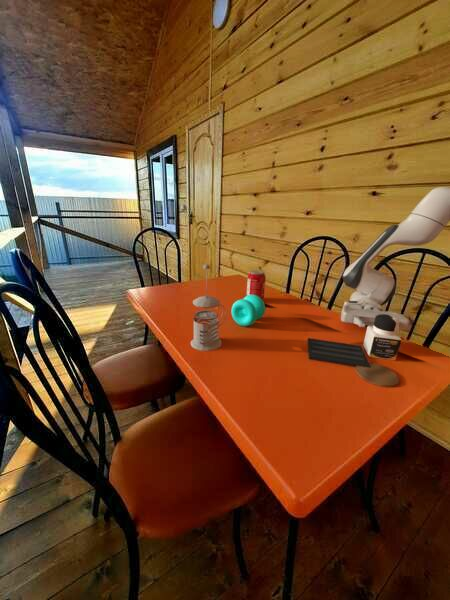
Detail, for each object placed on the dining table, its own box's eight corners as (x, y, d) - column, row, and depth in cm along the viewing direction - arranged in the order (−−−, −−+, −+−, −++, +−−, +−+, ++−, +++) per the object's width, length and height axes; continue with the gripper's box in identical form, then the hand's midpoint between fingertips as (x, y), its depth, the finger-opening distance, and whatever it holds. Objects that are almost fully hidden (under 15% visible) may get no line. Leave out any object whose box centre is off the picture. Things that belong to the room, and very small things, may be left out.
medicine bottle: (368, 357, 75) (378, 320, 71) (362, 345, 81) (370, 310, 77) (395, 361, 73) (407, 323, 69) (387, 348, 80) (396, 313, 76)
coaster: (404, 376, 66) (404, 374, 66) (391, 392, 60) (391, 391, 60) (364, 359, 73) (364, 358, 73) (348, 372, 67) (349, 371, 67)
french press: (184, 340, 81) (183, 262, 73) (215, 331, 87) (216, 259, 79) (200, 354, 73) (200, 269, 65) (232, 343, 80) (236, 265, 72)
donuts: (265, 321, 97) (267, 296, 94) (253, 330, 89) (255, 304, 86) (242, 315, 102) (244, 291, 99) (229, 323, 94) (230, 298, 91)
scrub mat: (360, 348, 80) (361, 344, 80) (370, 369, 69) (370, 365, 69) (307, 340, 84) (308, 337, 84) (308, 359, 73) (309, 355, 73)
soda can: (242, 304, 115) (244, 271, 110) (252, 300, 120) (255, 268, 115) (256, 308, 110) (259, 274, 105) (266, 304, 115) (269, 272, 110)
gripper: (398, 323, 91) (414, 341, 78) (337, 316, 96) (342, 331, 83) (403, 307, 89) (420, 322, 76) (340, 300, 94) (346, 313, 81)
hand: (379, 327), depth 80 cm, fingers open, 8 cm apart
